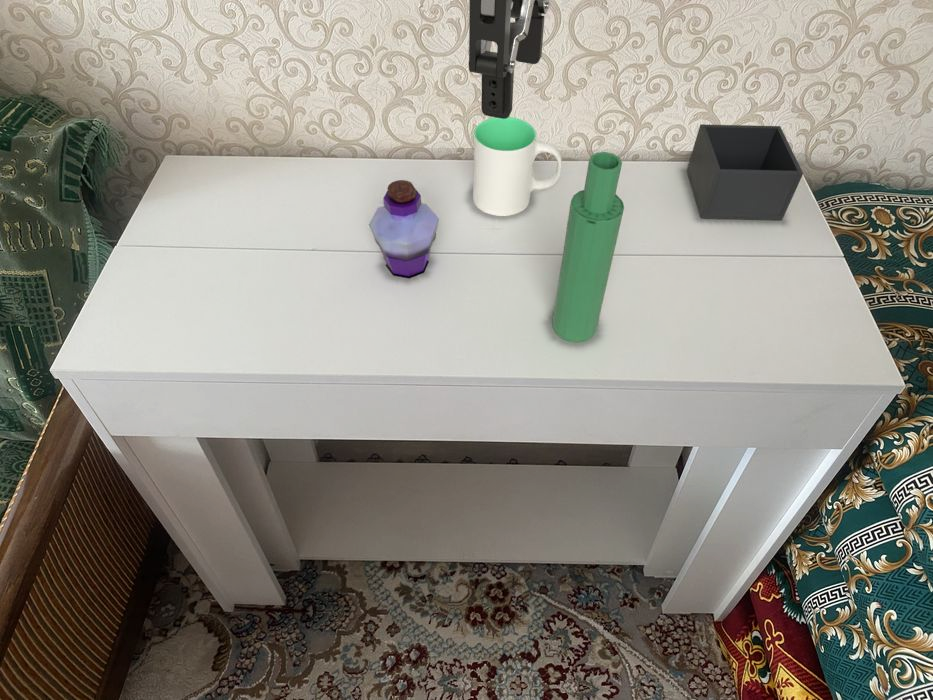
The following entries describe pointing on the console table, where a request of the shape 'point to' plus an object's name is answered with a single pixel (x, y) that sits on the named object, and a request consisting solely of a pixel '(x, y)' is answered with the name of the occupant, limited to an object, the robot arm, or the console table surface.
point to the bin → (743, 172)
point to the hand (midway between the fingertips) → (512, 86)
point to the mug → (507, 165)
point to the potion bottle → (404, 230)
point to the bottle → (588, 250)
